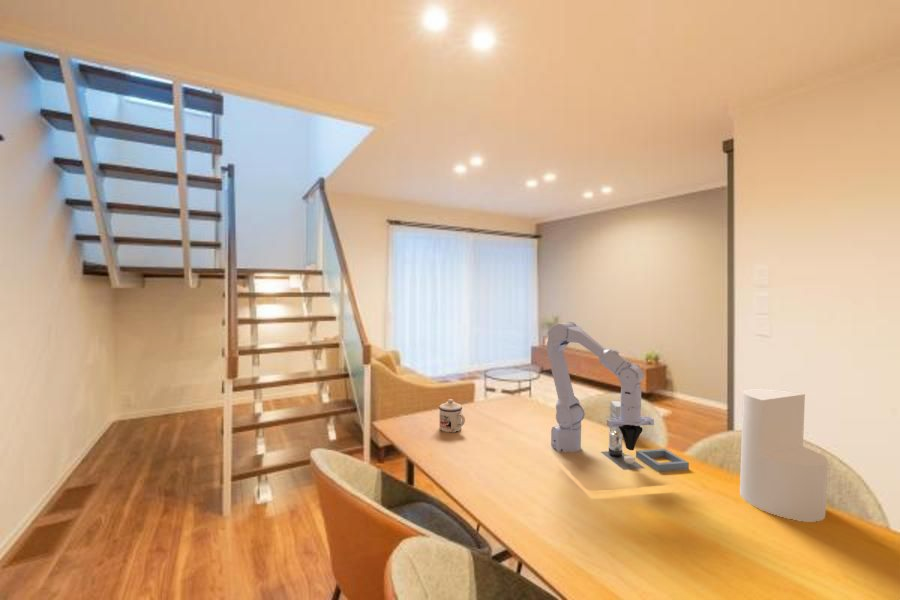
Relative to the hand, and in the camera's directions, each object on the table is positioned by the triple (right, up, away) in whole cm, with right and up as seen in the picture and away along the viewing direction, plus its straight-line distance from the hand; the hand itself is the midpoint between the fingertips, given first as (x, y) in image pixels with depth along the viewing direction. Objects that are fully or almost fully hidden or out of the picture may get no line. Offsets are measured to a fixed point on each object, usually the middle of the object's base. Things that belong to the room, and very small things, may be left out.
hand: (629, 448), depth 123 cm
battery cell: (-1, -5, +8) cm, 9 cm away
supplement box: (+10, -6, +28) cm, 30 cm away
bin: (+11, -7, +2) cm, 13 cm away
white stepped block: (+31, -8, -18) cm, 37 cm away
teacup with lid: (-54, -5, +33) cm, 64 cm away
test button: (0, -5, 0) cm, 5 cm away
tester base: (-1, -6, +4) cm, 8 cm away
